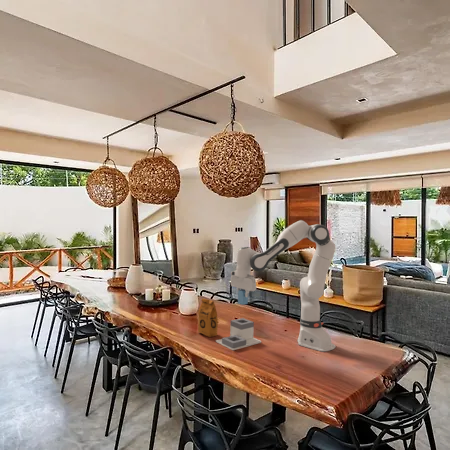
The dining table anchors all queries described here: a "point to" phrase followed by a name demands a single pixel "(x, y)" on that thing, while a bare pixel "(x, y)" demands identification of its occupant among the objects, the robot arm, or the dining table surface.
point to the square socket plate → (239, 335)
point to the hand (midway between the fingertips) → (242, 296)
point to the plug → (242, 297)
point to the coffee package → (207, 318)
